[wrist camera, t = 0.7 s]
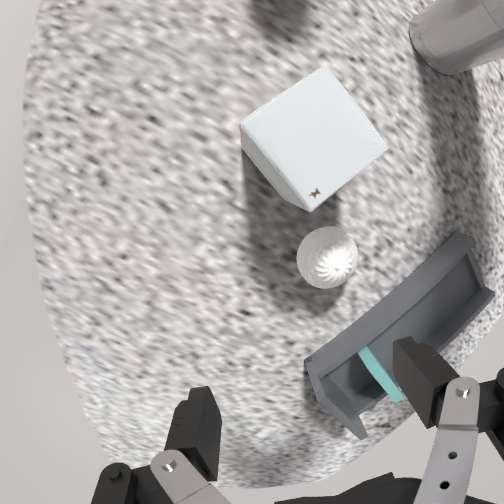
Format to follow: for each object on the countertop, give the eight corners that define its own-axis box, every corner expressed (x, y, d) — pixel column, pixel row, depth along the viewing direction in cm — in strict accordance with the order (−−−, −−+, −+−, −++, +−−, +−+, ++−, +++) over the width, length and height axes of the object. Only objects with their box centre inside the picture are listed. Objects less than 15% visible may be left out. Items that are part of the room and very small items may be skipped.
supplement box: (338, 159, 31) (393, 151, 18) (283, 201, 31) (309, 217, 19) (295, 103, 29) (326, 61, 17) (238, 145, 30) (235, 123, 18)
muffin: (334, 283, 34) (354, 308, 27) (283, 268, 33) (293, 291, 26) (354, 231, 32) (380, 245, 26) (302, 213, 32) (318, 222, 25)
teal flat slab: (359, 335, 34) (377, 362, 28) (385, 370, 36) (404, 397, 30) (351, 342, 34) (368, 369, 28) (378, 376, 36) (396, 403, 30)
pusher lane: (454, 231, 33) (495, 245, 25) (478, 286, 35) (514, 306, 27) (304, 360, 36) (317, 401, 28) (344, 401, 38) (361, 440, 30)
